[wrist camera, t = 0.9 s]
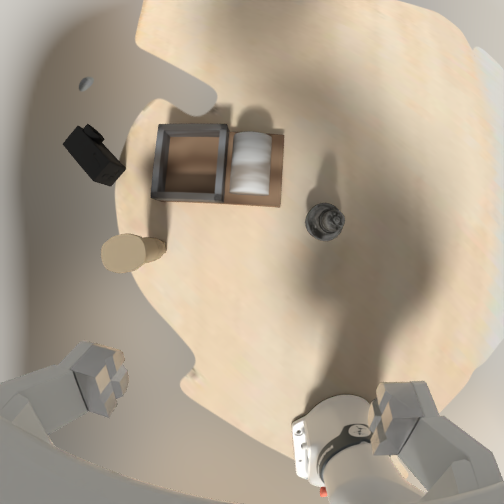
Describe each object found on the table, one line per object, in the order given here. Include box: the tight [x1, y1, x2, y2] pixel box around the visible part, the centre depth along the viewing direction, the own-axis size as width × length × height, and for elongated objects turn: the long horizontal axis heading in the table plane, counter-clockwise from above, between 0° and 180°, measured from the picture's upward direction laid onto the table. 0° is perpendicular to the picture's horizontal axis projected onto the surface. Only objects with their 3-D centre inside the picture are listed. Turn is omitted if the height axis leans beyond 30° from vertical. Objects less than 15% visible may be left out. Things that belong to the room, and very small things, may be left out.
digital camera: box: [63, 124, 126, 186], centre depth 49 cm, size 10×5×7 cm, turn 45°
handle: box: [101, 234, 166, 273], centre depth 46 cm, size 5×6×15 cm
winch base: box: [151, 124, 284, 207], centre depth 49 cm, size 12×20×7 cm, turn 86°
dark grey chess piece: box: [305, 203, 345, 241], centre depth 46 cm, size 6×6×12 cm
